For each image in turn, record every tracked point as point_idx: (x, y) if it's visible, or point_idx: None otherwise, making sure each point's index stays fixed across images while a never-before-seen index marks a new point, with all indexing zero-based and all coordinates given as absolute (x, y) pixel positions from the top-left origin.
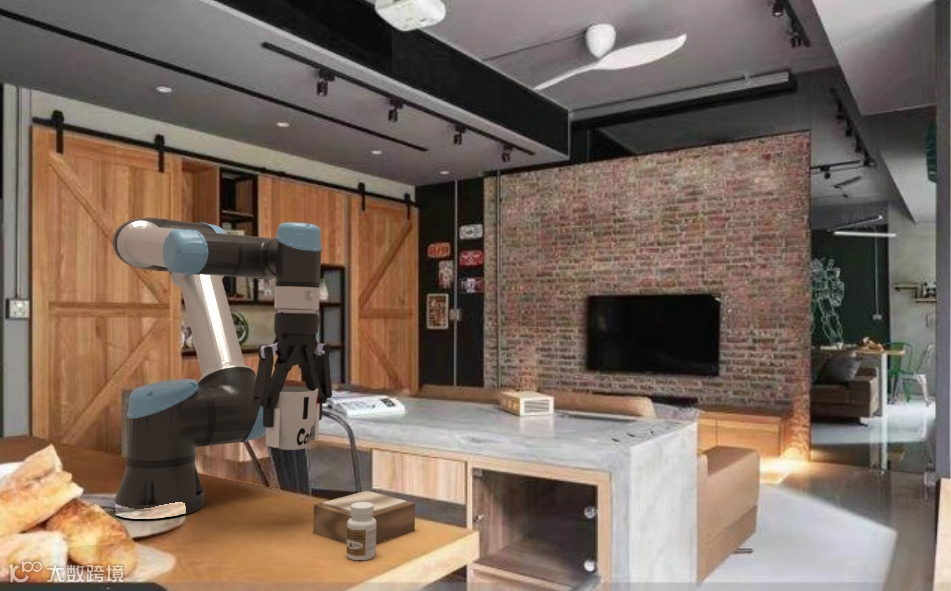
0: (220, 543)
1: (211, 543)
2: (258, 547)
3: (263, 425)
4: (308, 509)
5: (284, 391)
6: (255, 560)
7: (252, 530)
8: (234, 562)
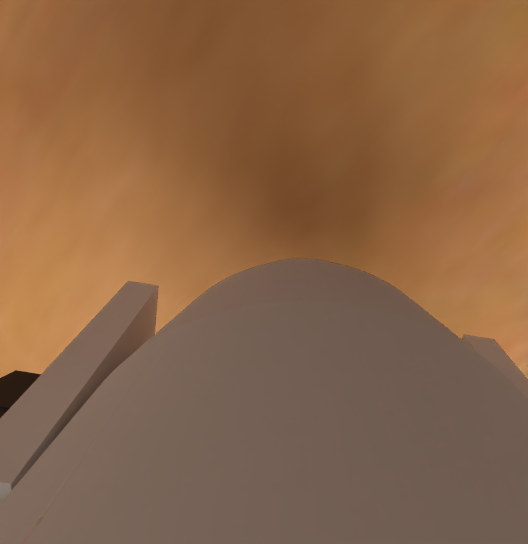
0: (60, 178)
1: (43, 155)
2: (109, 291)
3: (2, 381)
4: (467, 154)
5: (526, 542)
6: (50, 349)
7: (191, 166)
8: (9, 318)
